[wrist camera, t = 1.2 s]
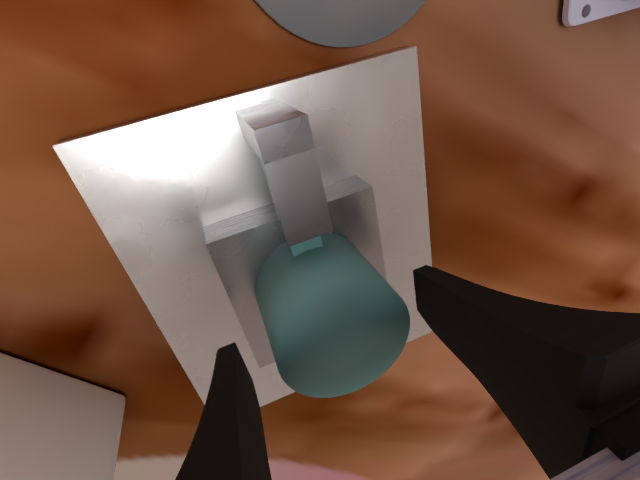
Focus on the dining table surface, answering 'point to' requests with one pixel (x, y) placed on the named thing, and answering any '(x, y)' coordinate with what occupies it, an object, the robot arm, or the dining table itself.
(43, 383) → the medicine bottle
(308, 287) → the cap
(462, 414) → the dining table surface
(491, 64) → the dining table surface
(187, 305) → the post base
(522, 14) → the dining table surface
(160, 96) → the dining table surface
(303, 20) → the coaster
